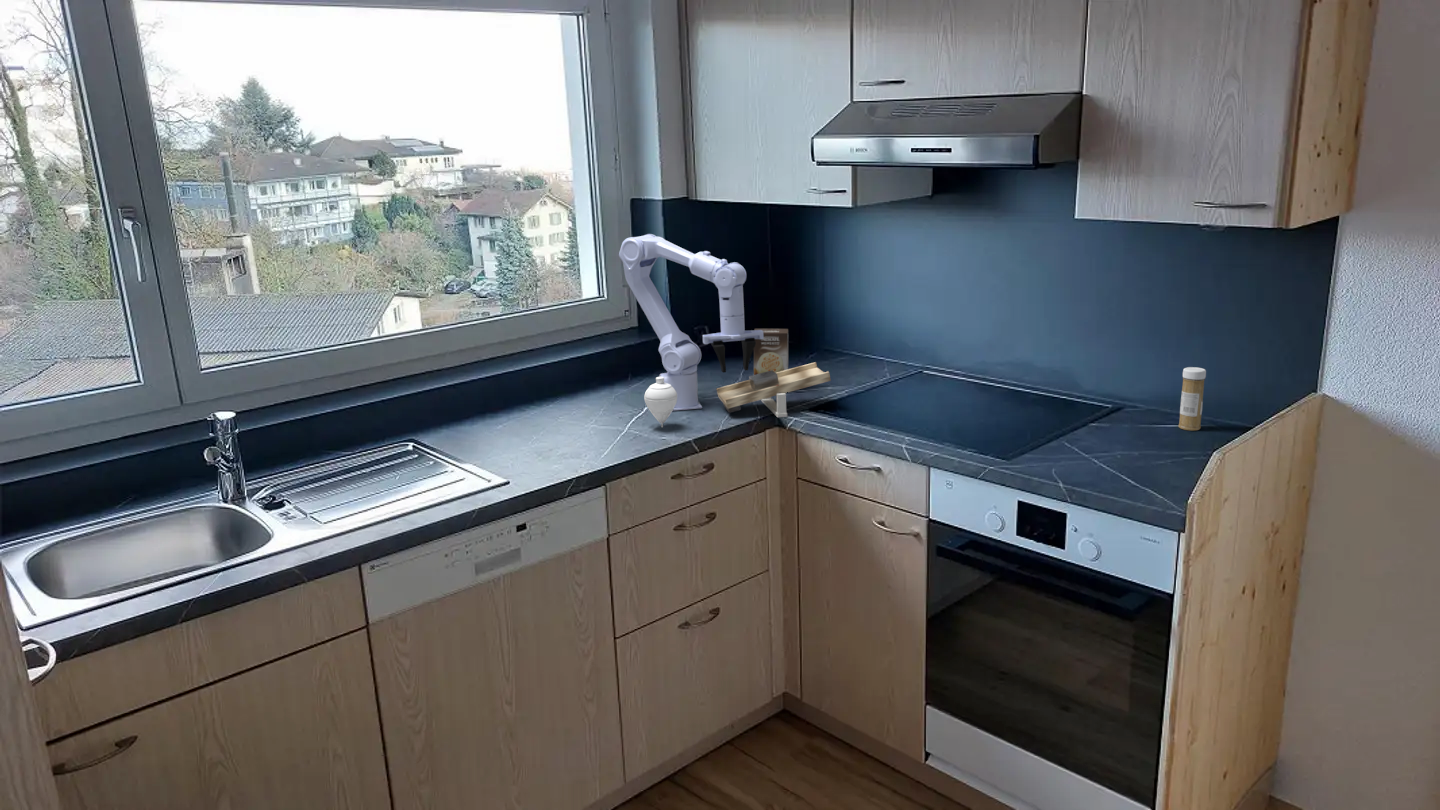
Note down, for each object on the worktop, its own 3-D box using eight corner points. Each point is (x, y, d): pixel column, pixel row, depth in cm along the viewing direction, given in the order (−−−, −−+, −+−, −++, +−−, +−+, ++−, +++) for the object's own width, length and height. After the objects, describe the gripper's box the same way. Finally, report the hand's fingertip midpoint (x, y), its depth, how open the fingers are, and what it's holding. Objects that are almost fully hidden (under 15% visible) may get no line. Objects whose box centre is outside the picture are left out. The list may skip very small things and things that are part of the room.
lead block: (756, 392, 244) (753, 380, 244) (751, 387, 249) (748, 376, 248) (779, 386, 245) (777, 374, 244) (774, 381, 250) (772, 370, 249)
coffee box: (753, 393, 264) (751, 333, 260) (754, 387, 270) (753, 328, 266) (788, 393, 263) (787, 332, 259) (789, 387, 270) (788, 327, 265)
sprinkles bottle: (1204, 428, 222) (1210, 369, 219) (1192, 432, 220) (1198, 372, 216) (1185, 424, 226) (1191, 365, 223) (1173, 427, 224) (1178, 368, 220)
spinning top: (684, 425, 237) (682, 375, 234) (666, 433, 231) (664, 382, 228) (657, 421, 241) (655, 372, 238) (639, 429, 235) (636, 379, 232)
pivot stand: (777, 417, 241) (777, 395, 240) (761, 401, 256) (761, 379, 255) (787, 416, 242) (787, 394, 240) (770, 400, 257) (770, 379, 255)
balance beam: (730, 416, 241) (726, 400, 239) (719, 403, 253) (715, 387, 251) (832, 388, 244) (829, 372, 243) (817, 377, 256) (814, 361, 255)
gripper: (705, 319, 236) (708, 376, 239) (765, 314, 238) (767, 371, 242) (699, 315, 242) (702, 370, 246) (758, 310, 245) (760, 365, 248)
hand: (734, 370), depth 244 cm, fingers open, 5 cm apart
